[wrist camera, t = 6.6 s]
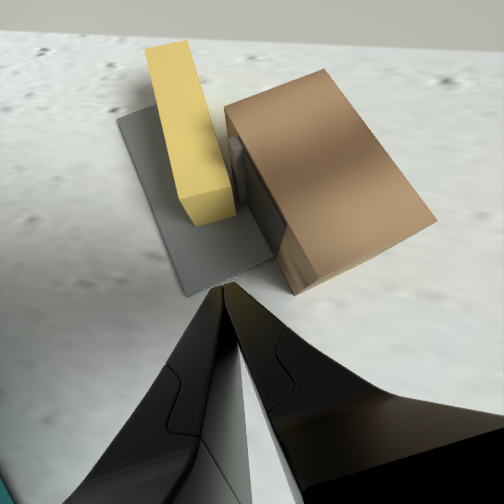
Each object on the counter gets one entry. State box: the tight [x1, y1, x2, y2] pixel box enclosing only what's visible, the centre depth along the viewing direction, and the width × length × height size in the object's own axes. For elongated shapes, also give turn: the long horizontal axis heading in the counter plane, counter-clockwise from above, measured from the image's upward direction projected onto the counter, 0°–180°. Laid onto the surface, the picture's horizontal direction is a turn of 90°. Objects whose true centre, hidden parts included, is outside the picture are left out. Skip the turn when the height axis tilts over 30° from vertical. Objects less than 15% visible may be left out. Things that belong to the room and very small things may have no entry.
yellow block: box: [144, 40, 236, 227], centre depth 17 cm, size 4×3×12 cm
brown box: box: [224, 69, 438, 296], centre depth 15 cm, size 10×7×6 cm, turn 25°
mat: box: [117, 104, 274, 297], centre depth 19 cm, size 16×6×1 cm, turn 25°
